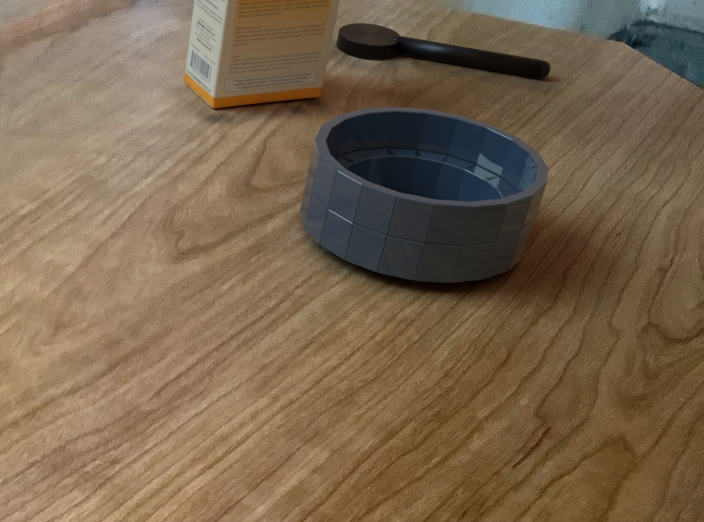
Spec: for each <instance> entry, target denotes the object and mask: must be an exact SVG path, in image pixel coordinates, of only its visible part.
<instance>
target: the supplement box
mask: <svg viewBox="0 0 704 522" xmlns="http://www.w3.org/2000/svg"><path fill="white" fill-rule="evenodd" d="M340 1H341V0H194V1H193V9H192V16H191V24H190V30H189V31H190V32H189V40H188V47H187V52H186V53H187V55H186V62H185V69H184V71H185V72H184V75H183V76H184V77H183V83H184V84H185V85H186V86H187V87H188V88H189V89H190V90H192V91H193V92H194V93H195V94H196V95H197V96H198V97H200V98H201V100H203V101H204V102H205V103H206V104H207V105H208V106H210V108H212V109H223V108H227V107H237V106H245V105H255V104H264V103H273V102H283V101H292V100H293V101H295V100H303V99H312V98H319V97H321V95H322V90H323V85H324V82H325V81H324V80H325V74H326V71H327V67H328V62H329V57H330V51H331V48H332V47H331V45H332V41H333V35H334V31H335V27H336V21H337V16H338V13H339V12H338V11H339V5H340Z"/></svg>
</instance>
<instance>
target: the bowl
mask: <svg viewBox="0 0 704 522" xmlns="http://www.w3.org/2000/svg"><path fill="white" fill-rule="evenodd" d="M549 170H550V169H549V167H548V165H547V164H546V162H545V160H544V158H543V157H542V154H541V153H540V152H538V151H537V150H536V149H534V147H532V146H531V145H529V144H528V143H527V142H526V141H524V140H523V139H521V138H520V137H518V136H517V135H514V134H512V133H509V132H508V131H505V130H503V129H501V128H499V127H498V126H495V125H493V124H489V123H486V122H484V121H480V120H477V119H474V118H471V117H467V116H464V115H460V114H455V113H450V112H445V111H440V110H433V109H426V108H414V107H398V106H397V107H396V106H395V107H394V106H388V107H375V108H374V107H373V108H363V109H358V110H354V111H351V112H350V111H349V112H347V113H346V112H345V113H342V114H339V115H336V116H335V117H333V118H331V119H330V120H328V121H327V122H325V123H324V124H322V125H320V128H319V130H318V132H317V134H316V136H315V138H314V142H313V147H312V151H311V156H310V162H309V166H308V171H307V176H306V180H305V184H304V190H303V195H302V198H301V199H302V200H301V204H300V209H299V215H300V218H301V223H302V225H303V228H304V230H305V231H306V232H307V233H308V235H309V236H311V238H312V239H313V240H314V241H315V242H316V243H317V244H318V245H319V246H321V247H322V248H323V249H325V250H326V251H328V252H330V253H332V254H333V255H335V256H337V257H339V258H340V259H342V260H343V261H346V262H348V263H350V264H353V265H356V266H358V267H361V268H364V269H366V270H368V271H369V270H370V271H371V272H375V273H377V274H380V275H381V274H382V275H385V276H389V277H391V278H397V279H403V280H408V281H414V282H424V283H425V282H428V283H443V284H453V283H454V284H455V283H464V282H465V283H466V282H473V281H483V280H487V279H489V278H492V277H494V276H497V275H501V274H502V273H506V272H508V271H510V270H511V269H512V268H513V267H514V266H515V265H516V264H517V263H518V262H519V261H520V260H522V259H523V257H524V254H525V251H526V248H527V245H528V242H529V239H530V236H531V233H532V230H533V227H534V223H535V221H536V217H537V215H538V211H539V208H540V205H541V202H542V199H543V196H544V193H545V190H546V188H547V184H548V177H549V172H550V171H549Z"/></svg>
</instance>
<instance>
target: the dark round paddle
mask: <svg viewBox="0 0 704 522" xmlns="http://www.w3.org/2000/svg"><path fill="white" fill-rule="evenodd" d="M335 45H336V47H337V48H338V50H339V51H341V52H343V53H344V54H347V55H349V56H353V57H355V58H359V59H366V60H387V59H391V58H393V57H396V56H397V55H402V56H409V57H414V58H420V59H424V60H432V61H436V62H443V63H448V64H453V65H460V66H466V67H471V68H477V69H478V68H479V69H483V70H489V71H495V72H501V73H507V74H512V75H517V76H524V77H530V78H535V79H545V78H547V77H548V76H549V75H550V73H551V69H552V67H551V64H550V62H549V61H547V60H545V59H539V58H534V57H533V58H532V57H526V56H521V55H515V54H510V53H509V54H508V53H503V52H497V51H491V50H485V49H479V48H474V47H468V46H461V45H456V44H450V43H444V42H439V41H432V40H428V39H421V38H417V37H416V38H414V37H410V36H409V37H408V36H403V35H400V34H399V32H397V31H395V30H394V29H392V28H390V27H387V26H384V25H379V24H374V23H366V22H365V23H364V22H357V23H348V24H344V25H342V26H341V27H339V29H338V33H337V38H336V43H335Z"/></svg>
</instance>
